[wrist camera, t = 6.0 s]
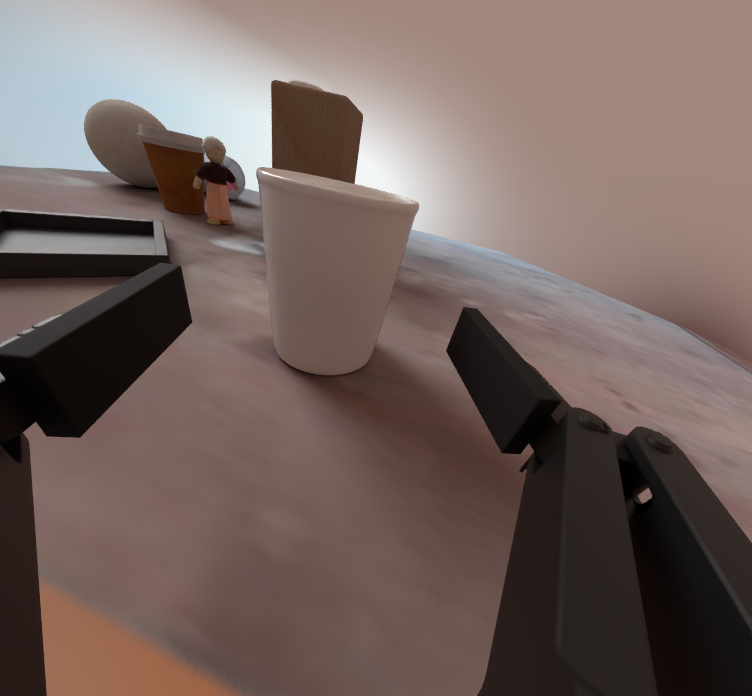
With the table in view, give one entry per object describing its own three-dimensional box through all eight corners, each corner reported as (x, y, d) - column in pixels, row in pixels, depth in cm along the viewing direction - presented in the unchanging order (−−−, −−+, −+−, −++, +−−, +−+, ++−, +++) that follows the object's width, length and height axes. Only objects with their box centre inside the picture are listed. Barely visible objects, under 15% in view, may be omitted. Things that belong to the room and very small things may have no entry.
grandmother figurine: (212, 227, 46) (200, 134, 39) (195, 221, 47) (180, 129, 40) (246, 224, 52) (242, 143, 45) (231, 219, 53) (224, 139, 46)
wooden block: (331, 260, 43) (348, 96, 33) (272, 245, 44) (269, 77, 33) (346, 247, 52) (364, 113, 41) (296, 235, 52) (301, 99, 41)
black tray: (-64, 279, 20) (-85, 251, 19) (1, 228, 30) (-10, 207, 28) (172, 275, 28) (168, 255, 27) (165, 236, 38) (162, 220, 36)
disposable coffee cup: (163, 215, 46) (144, 126, 39) (147, 202, 51) (127, 121, 44) (222, 217, 52) (214, 141, 46) (203, 206, 57) (193, 135, 51)
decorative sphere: (85, 177, 58) (53, 83, 50) (161, 182, 70) (146, 107, 62) (123, 192, 53) (95, 92, 45) (198, 196, 65) (187, 116, 57)
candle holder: (403, 357, 24) (449, 209, 17) (308, 403, 17) (326, 192, 11) (334, 310, 29) (350, 181, 22) (241, 332, 22) (225, 158, 16)
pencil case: (167, 182, 71) (158, 138, 66) (199, 185, 78) (194, 145, 73) (218, 201, 64) (213, 153, 59) (249, 202, 71) (247, 159, 66)
